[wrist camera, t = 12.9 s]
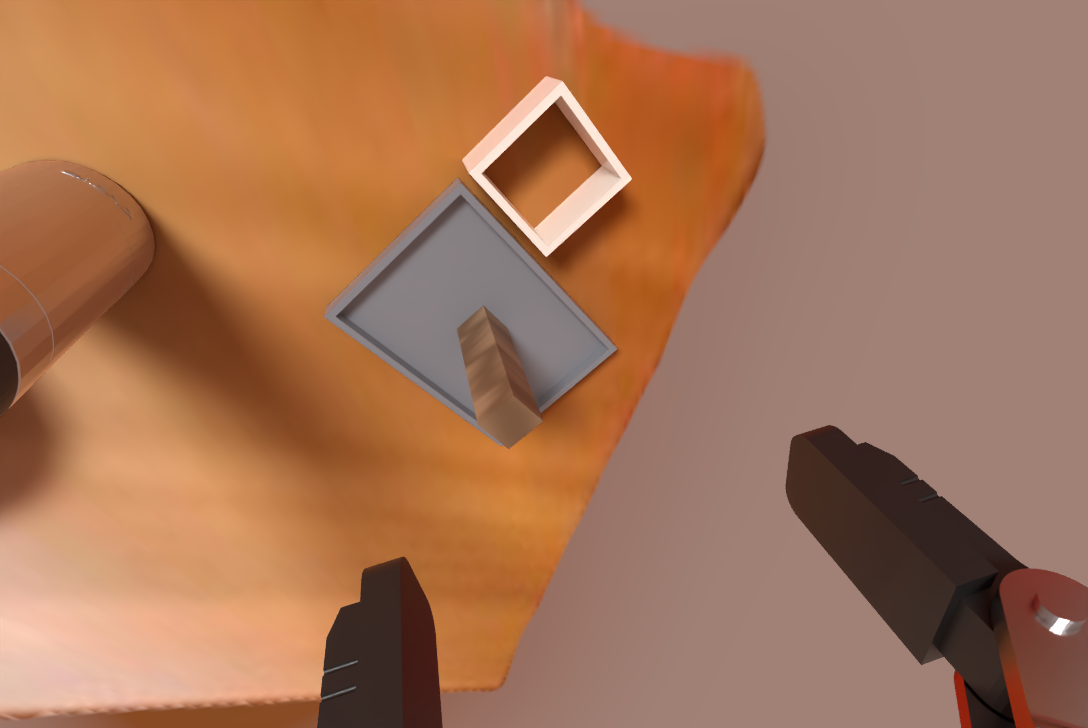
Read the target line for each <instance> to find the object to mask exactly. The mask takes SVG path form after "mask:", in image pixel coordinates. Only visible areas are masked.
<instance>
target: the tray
mask: <svg viewBox="0 0 1088 728" xmlns="http://www.w3.org/2000/svg"><path fill="white" fill-rule="evenodd" d="M483 305H484V306H485V307H486V308H487V309H488V310H489V311H490V312H491V313H492V314H493V315H494V316H495V317H496V318H497V319H498V320H499V321H500V322H501V323H503V324H504V325H505V326H506V327H507V329H508V332H509V334H510V337H511V339H512V342H513V344H514V347H515V350H516V352H517V355H518V357H519V360H520V362H521V365H522V368H523V370H524V373H525V375H526V378H527V380H528V383H529V386H530V388H531V391H532V393H533V396H534V398H535V401H536V404H537V406H538V409H539V411H540V414H541V413H542V412H543V411H544V410H545V409H547V408H548V407H549V406H550V405H551V404H553V403H554V402H555V401H556V400H557V399H559V398H560V397H561V396H562V395H563V394H565V393H566V392H567V391H568V390H569V389H570V388H572V387H573V386H574V385H575V384H576V383H578V382H579V381H580V380H581V379H582V378H584V377H585V376H586V375H587V374H588V373H590V372H591V371H592V370H593V369H594V368H596V367H597V366H598V365H599V364H600V363H602V362H603V361H604V360H605V359H606V358H607V357H609V356H610V355H611V354H612V353H613V352H615V351H616V350H617V348H616V346H615V345H614V343H613V342H612V341H611V339H610V338H609V337H608V336H607V335H606V334H605V333H604V332H603V331H602V330H601V329H600V328H599V327H598V326H597V324H596V323H595V322H594V321H593V320H592V319H591V318H590V317H589V316H588V315H587V314H586V313H585V312H584V311H583V310H582V309H581V307H580V306H579V305H578V304H577V303H576V302H575V301H574V300H573V299H572V298H571V297H570V296H569V295H568V294H567V293H566V291H565V290H564V289H563V288H562V287H561V286H560V285H559V284H558V283H557V282H556V281H555V280H554V279H553V278H552V277H551V276H550V274H549V273H548V272H547V271H546V270H545V269H544V268H543V267H542V266H541V265H540V264H539V263H538V262H537V261H536V260H535V258H534V257H533V256H532V255H531V254H530V253H529V252H528V251H527V250H526V249H525V248H524V247H523V246H522V245H521V244H520V243H519V241H518V240H517V239H516V238H515V237H514V236H513V235H512V234H511V233H510V232H509V231H508V230H507V229H506V228H505V227H504V226H503V224H502V223H501V222H500V221H499V220H498V219H497V218H496V217H495V216H494V215H493V214H492V213H491V212H490V211H489V210H488V208H487V207H486V206H485V205H484V204H483V203H482V202H481V201H480V200H479V199H478V198H477V197H476V196H475V195H474V194H473V193H472V191H471V190H470V189H469V188H468V187H467V186H466V185H465V184H464V183H463V182H462V181H461V180H460V179H459V178H457V179H456V180H455V181H454V182H453V183H452V184H451V185H450V186H449V187H447V188H446V189H445V190H444V191H443V192H442V193H441V194H440V195H439V196H438V197H437V198H436V199H435V200H434V201H433V202H432V203H431V204H430V205H429V206H428V207H427V208H426V209H425V210H424V211H423V212H422V213H421V214H420V215H419V216H418V217H417V218H416V219H415V220H414V221H413V222H412V223H411V224H410V225H409V226H408V227H407V228H406V229H405V230H404V231H403V232H402V233H401V234H400V235H399V236H398V237H397V238H396V239H395V240H394V241H393V242H392V243H391V244H390V245H389V246H388V247H387V248H386V249H385V250H384V251H383V252H382V253H381V254H380V255H379V256H378V257H377V258H376V259H375V260H374V261H373V262H372V263H371V264H370V265H369V266H368V267H367V268H366V269H364V270H363V271H362V272H361V273H360V274H359V275H358V276H357V277H356V278H355V279H354V280H353V281H352V282H351V283H350V284H349V285H348V286H347V287H346V288H345V289H344V290H343V291H342V292H341V293H340V294H339V295H338V296H337V297H336V298H335V299H334V300H333V301H332V302H331V303H330V304H329V305H328V306H327V307H326V311H325V315H324V317H325V318H326V319H328V320H329V321H330V322H332V323H333V324H335V325H336V326H337V327H339V328H340V329H341V330H343V331H344V332H346V333H347V334H348V335H350V336H351V337H352V338H354V339H355V340H356V341H358V342H359V343H361V344H362V345H363V346H365V347H366V348H367V349H369V350H370V351H372V352H373V353H374V354H376V355H377V356H378V357H380V358H381V359H383V360H384V361H385V362H387V363H388V364H389V365H391V366H392V367H393V368H395V369H396V370H398V371H399V372H400V373H402V374H403V375H404V376H406V377H407V378H409V379H410V380H411V381H413V382H414V383H415V384H417V385H418V386H419V387H421V388H422V389H424V390H425V391H426V392H428V393H429V394H430V395H432V396H433V397H435V398H436V399H437V400H439V401H440V402H441V403H443V404H444V405H446V406H447V407H448V408H450V409H451V410H452V411H454V412H455V413H456V414H458V415H459V416H461V417H462V418H463V419H465V420H466V421H467V422H469V423H470V424H472V425H473V426H474V427H476V428H477V429H478V430H480V431H481V432H483V433H484V434H485V435H487V436H488V437H489V438H491V439H492V440H493V441H495V442H496V443H498V444H499V445H500V446H502V445H503V444H502V443H500V442H499V441H498V440H496V439H495V438H494V437H493V436H491V435H490V434H489V433H487V432H486V431H485V430H483V429H482V428H481V427H479V426H478V423H477V419H476V414H475V410H474V405H473V401H472V396H471V392H470V387H469V382H468V378H467V373H466V369H465V364H464V360H463V355H462V351H461V346H460V341H459V337H458V332H457V328H458V327H459V326H460V325H461V324H463V323H464V322H465V321H466V320H467V319H468V318H469V317H471V316H472V315H473V314H474V313H475V312H476V311H477V310H478V309H480V308H481V307H482V306H483Z"/></svg>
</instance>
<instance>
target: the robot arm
mask: <svg viewBox="0 0 1088 728" xmlns="http://www.w3.org/2000/svg"><path fill="white" fill-rule="evenodd" d="M154 250H155V242H154V234H153V231H152V228H151V225H150V222H149V220H148V218H147V217H146V215H145V213H144V212H143V210H142V208H141V207H140V206H139V205H138V204H137V202H136V201H135V200H134V199H133V198H132V197H131V195H130V194H128V193H127V192H126V191H125V190H124V189H122V188H121V187H120V186H119V185H118V184H116V183H115V182H113V181H112V180H110V179H108V178H107V177H105V176H103V175H102V174H100V173H98V172H95V171H93V170H91V169H88V168H86V167H83V166H80V165H76V164H72V163H68V162H64V161H52V160H41V161H33V162H27V163H24V164H22V165H19V166H16V167H13V168H10V169H7V170H5V171H2V172H0V417H1V416H2V415H3V414H4V413H5V412H6V411H7V410H8V409H9V408H10V407H11V406H12V405H13V404H14V403H15V402H16V401H17V400H18V399H19V398H20V397H21V396H22V395H23V394H24V393H25V392H26V391H27V390H28V389H29V388H30V387H31V386H32V385H33V384H34V383H35V382H36V381H37V380H38V379H39V378H40V377H41V376H42V375H43V374H44V373H45V372H46V371H47V370H48V369H49V368H50V367H51V366H52V365H53V364H54V363H55V362H56V361H57V360H58V359H59V358H60V357H61V356H62V355H63V354H64V353H65V352H66V351H67V350H68V349H69V348H70V347H71V346H72V345H73V344H74V343H75V342H76V341H77V340H78V339H79V338H80V337H81V336H82V335H83V334H84V333H85V332H86V331H87V330H88V329H89V328H90V327H91V326H92V325H93V324H94V323H95V322H96V321H97V320H98V319H99V318H100V317H101V316H102V315H103V314H104V313H105V312H106V311H107V310H108V309H109V308H110V307H111V306H112V305H113V304H114V303H115V302H116V301H118V300H119V299H120V298H121V297H122V296H123V295H124V294H125V293H126V292H127V291H128V290H129V289H130V288H131V287H132V286H133V285H134V284H135V283H136V282H137V281H138V280H139V279H140V278H141V277H142V275H143V274H144V273H145V272H146V271H147V270H148V268H149V266H150V264H151V262H152V260H153V256H154ZM786 493H787V497H788V500H789V503H790V505H791V507H792V509H793V511H794V512H795V514H796V515H797V516H798V518H799V519H800V520H801V521H802V522H803V524H804V525H805V526H806V527H807V528H808V529H809V531H810V532H811V533H812V534H813V536H814V537H815V538H816V539H817V540H818V542H819V543H820V544H821V545H822V546H823V548H824V549H825V550H826V551H827V552H828V554H829V555H830V556H831V557H832V558H833V560H834V561H835V562H836V563H837V564H838V566H839V567H840V568H841V569H842V570H843V572H844V573H845V574H846V575H847V576H848V578H849V579H850V580H851V581H852V582H853V584H854V585H855V586H856V587H857V588H858V590H859V591H860V592H861V593H862V594H863V596H864V597H865V598H866V599H867V600H868V602H869V603H870V604H871V605H872V606H873V607H874V609H875V610H876V611H877V612H878V614H879V615H880V616H881V617H882V618H883V620H884V621H885V622H886V623H887V624H888V626H889V627H890V628H891V629H892V630H893V632H894V633H895V634H896V635H897V636H898V638H899V639H900V640H901V641H902V642H903V643H904V645H905V646H906V647H907V648H908V650H909V651H910V652H911V653H912V654H913V656H914V657H915V658H916V659H917V660H918V662H919V663H920V664H921V665H923V664H925V663H928V662H931V661H933V660H936V659H939V658H942V657H945V658H946V659H947V661H948V662H949V663H950V664H951V665H952V666H953V667H954V669H955V672H954V685H955V692H956V698H957V704H958V710H959V717H960V723H961V728H1088V587H1086V586H1084V585H1083V584H1081V583H1079V582H1077V581H1075V580H1073V579H1071V578H1069V577H1066V576H1064V575H1061V574H1058V573H1055V572H1051V571H1048V570H1042V569H1031V568H1028V567H1027V566H1025V565H1023V564H1022V563H1020V562H1019V561H1018V560H1016V559H1015V558H1014V557H1013V556H1012V555H1010V554H1009V553H1008V552H1007V551H1006V550H1005V549H1003V548H1002V547H1001V546H1000V545H998V544H997V543H996V542H995V541H994V540H993V539H992V538H990V537H989V536H988V535H987V534H986V533H985V532H983V531H982V530H981V529H980V528H978V527H977V526H976V525H975V524H974V523H973V522H972V521H970V520H969V519H968V518H967V517H966V516H965V515H963V514H962V513H961V512H960V511H959V510H957V509H956V508H955V507H954V506H952V504H950V503H949V502H948V501H947V500H946V499H945V498H943V497H942V496H941V497H939V496H938V495H937V492H936V491H935V490H934V489H933V488H931V487H930V486H929V485H928V484H927V483H926V482H924V481H923V480H919V479H918V476H917V475H916V474H915V473H914V472H912V470H910V469H909V468H908V467H907V466H905V465H904V464H903V463H902V462H901V461H900V460H898V459H897V458H896V457H895V456H893V455H891V454H889V453H887V452H885V451H882V450H881V449H879V448H877V447H874V446H872V445H870V444H868V443H866V442H865V443H861V444H858V445H857V444H856V443H855V442H853V441H852V440H851V439H850V438H849V437H848V436H847V435H846V434H844V433H843V432H842V431H841V430H840V429H838V428H837V427H835V426H831V425H828V426H825V427H821V428H818V429H815V430H812V431H808V432H805V433H802V434H799V435H796V436H794V437H793V438H792V440H791V446H790V454H789V462H788V470H787V478H786ZM323 670H324V676H323V678H322V687H321V699H322V701H321V703H320V707H319V716H318V726H317V728H442V714H441V701H440V687H439V673H438V660H437V646H436V633H435V625H434V620H433V615H432V611H431V608H430V605H429V602H428V600H427V598H426V596H425V594H424V592H423V590H422V588H421V586H420V584H419V582H418V580H417V578H416V576H415V574H414V572H413V570H412V568H411V566H410V564H409V562H408V561H407V559H406V558H405V557H400V558H397V559H394V560H391V561H388V562H384V563H381V564H378V565H375V566H372V567H368V568H366V569H364V571H363V573H362V580H361V598H360V602H357V603H354V604H351V605H348V606H345V607H342V608H341V609H340V611H339V613H338V615H337V617H336V619H335V622H334V624H333V626H332V628H331V630H330V632H329V634H328V637H327V640H326V649H325V659H324V668H323Z"/></svg>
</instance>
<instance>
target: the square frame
mask: <svg viewBox="0 0 1088 728" xmlns="http://www.w3.org/2000/svg"><path fill="white" fill-rule="evenodd" d="M554 102H555V103H556V105H557V106H558V107H559V109H560V110H561V111H562V113H563V114H564V115H565V117H566V118H567V119H568V121H569V122H570V123H571V125H572V126H573V128H574V129H575V130H576V132H577V133H578V134H579V136H580V137H581V138H582V140H583V141H584V142H585V144H586V145H587V147H588V148H589V149H590V151H591V152H592V153H593V155H594V156H595V157H596V159H597V160H598V161H599V163H600V164H601V165H602V166H601V167H600V168H599V169H598V170H597V171H596V172H595V173H594V174H593V175H592V176H590V177H589V178H588V179H587V180H586V181H585V182H584V183H583V184H582V185H581V186H580V187H579V188H578V189H576V190H575V191H574V192H573V193H572V194H571V195H570V196H569V197H568V198H567V199H566V200H565V201H564V202H562V203H561V204H560V205H559V206H558V207H557V208H556V209H555V210H554V211H553V212H552V213H551V214H550V215H548V216H547V217H546V218H545V219H544V220H543V221H542V222H541V223H540V224H539V225H538V226H537V227H536V228H533V227H532V225H531V224H530V223H529V222H528V221H527V220H526V219H525V218H524V217H523V215H522V214H521V213H520V212H519V211H518V210H517V209H516V208H515V207H514V205H513V204H512V203H511V202H510V201H509V200H508V199H507V198H506V197H505V195H504V194H503V193H502V192H501V191H500V190H499V189H498V188H497V187H496V185H495V184H494V183H493V182H492V181H491V180H490V179H489V178H488V177H487V175H486V174H485V173H484V172H483V171H484V170H485V169H486V168H487V167H488V166H489V165H490V164H491V163H492V162H493V161H494V160H495V159H497V158H498V157H499V156H500V155H501V154H502V153H503V152H504V151H505V150H506V149H507V148H508V147H509V146H510V145H511V144H512V143H513V142H514V141H515V140H516V139H517V138H518V137H519V136H520V135H521V134H522V133H523V132H524V131H525V130H526V129H527V128H528V127H529V126H530V125H531V124H532V123H533V122H534V121H535V120H536V119H537V118H538V117H539V116H540V115H541V114H543V113H544V112H545V111H546V110H547V109H548V108H549V107H550V106H551V105H552V104H553V103H554ZM462 161H463V163H464V165H465V167H466V169H467V170H468V172H469V174H470V175H471V176H472V177H473V178H474V179H475V180H476V181H477V182H478V183H479V185H480V186H481V187H482V188H483V189H484V190H485V191H486V192H487V193H488V194H489V195H490V197H491V198H492V199H493V200H494V201H495V202H496V203H497V204H498V205H499V206H500V207H501V208H502V210H503V211H504V212H505V213H506V214H507V215H508V216H509V217H510V218H511V219H512V220H513V222H514V223H515V224H516V225H517V226H518V227H519V228H520V229H521V230H522V231H523V232H524V233H525V235H526V236H527V237H528V238H529V239H530V240H531V241H532V242H533V243H534V244H535V245H536V246H537V248H538V249H539V250H540V251H541V252H542V253H543V254H544V255H545V256H546V257H547V256H548V255H549V254H550V253H551V252H553V251H554V250H555V249H556V248H557V247H558V246H559V245H560V244H561V243H562V242H564V241H565V240H566V239H567V238H568V237H569V236H570V235H571V234H572V233H573V232H575V231H576V230H577V229H578V228H579V227H580V226H581V225H582V224H583V223H584V222H586V221H587V220H588V219H589V218H590V217H591V216H592V215H593V214H594V213H595V212H597V211H598V210H599V209H600V208H601V207H602V206H603V205H604V204H605V203H606V202H608V201H609V200H610V199H611V198H612V197H613V196H614V195H615V194H616V193H617V192H619V191H620V190H621V189H622V188H623V187H624V186H625V185H626V184H627V183H628V182H630V181H631V180H632V178H631V177H630V175H629V174H628V173H627V171H626V170H625V168H624V167H623V166H622V164H621V163H620V161H619V160H618V159H617V157H616V156H615V154H614V153H613V152H612V150H611V149H610V147H609V146H608V145H607V143H606V142H605V140H604V139H603V138H602V136H601V135H600V133H599V132H598V130H597V129H596V128H595V126H594V125H593V123H592V122H591V121H590V119H589V118H588V116H587V115H586V114H585V112H584V111H583V109H582V108H581V107H580V105H579V104H578V102H577V101H576V100H575V98H574V97H573V95H572V94H571V93H570V91H569V90H568V88H567V87H566V85H565V84H564V83H563V81H560V80H557V79H554V78H551V77H547V76H546V77H545V78H544V79H543V80H542V81H541V82H540V83H539V84H538V85H537V86H536V87H535V88H534V89H533V90H532V91H531V92H530V93H529V94H528V95H527V96H526V97H525V98H524V99H523V100H522V101H521V102H520V103H519V104H518V105H517V106H516V107H515V108H514V109H513V110H512V111H511V112H510V113H509V114H508V115H507V116H505V117H504V118H503V119H502V120H501V121H500V122H499V123H498V124H497V125H496V126H495V127H494V128H493V129H492V130H491V131H490V132H489V133H488V134H487V135H486V136H485V137H484V138H483V139H482V140H481V141H480V142H479V143H478V144H477V145H476V146H475V147H474V148H473V149H472V150H471V151H470V152H469V153H468V154H467V155H466V156H465V157H464V158H463V159H462Z"/></svg>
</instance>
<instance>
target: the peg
mask: <svg viewBox="0 0 1088 728" xmlns="http://www.w3.org/2000/svg"><path fill="white" fill-rule="evenodd" d="M457 332H458V337H459V341H460V346H461V351H462V355H463V360H464V364H465V369H466V373H467V378H468V382H469V387H470V392H471V396H472V401H473V405H474V410H475V414H476V419H477V423H478V426H479V427H481V428H482V429H483V430H485V431H486V432H487V433H489V434H490V435H491V436H493V437H494V438H495V439H496V440H498V441H499V442H500V443H502V444H503V445H504V446H506V447H507V448H508V449H509V448H511V447H512V446H513V445H514V444H516V443H517V442H518V441H519V440H521V439H522V438H523V437H524V436H526V435H527V434H528V433H529V432H530V431H532V430H533V429H534V428H535V427H537V426H538V425H539V424H540V423H542V422H543V419H542V416H541V414H540V411H539V409H538V406H537V404H536V401H535V398H534V396H533V393H532V391H531V388H530V386H529V383H528V380H527V378H526V375H525V373H524V370H523V368H522V365H521V362H520V360H519V357H518V355H517V352H516V350H515V347H514V344H513V342H512V339H511V337H510V334H509V332H508V329H507V327H506V326H505V325H504V324H503V323H501V322H500V321H499V320H498V319H497V318H496V317H495V316H494V315H493V314H492V313H491V312H490V311H489V310H488V309H487V308H486V307H485V306H484V305H483V306H482V307H481V308H480V309H478V310H477V311H476V312H475V313H474V314H473V315H472V316H471V317H469V318H468V319H467V320H466V321H465V322H464V323H463V324H461V325H460V326H459V327H458V328H457Z"/></svg>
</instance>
